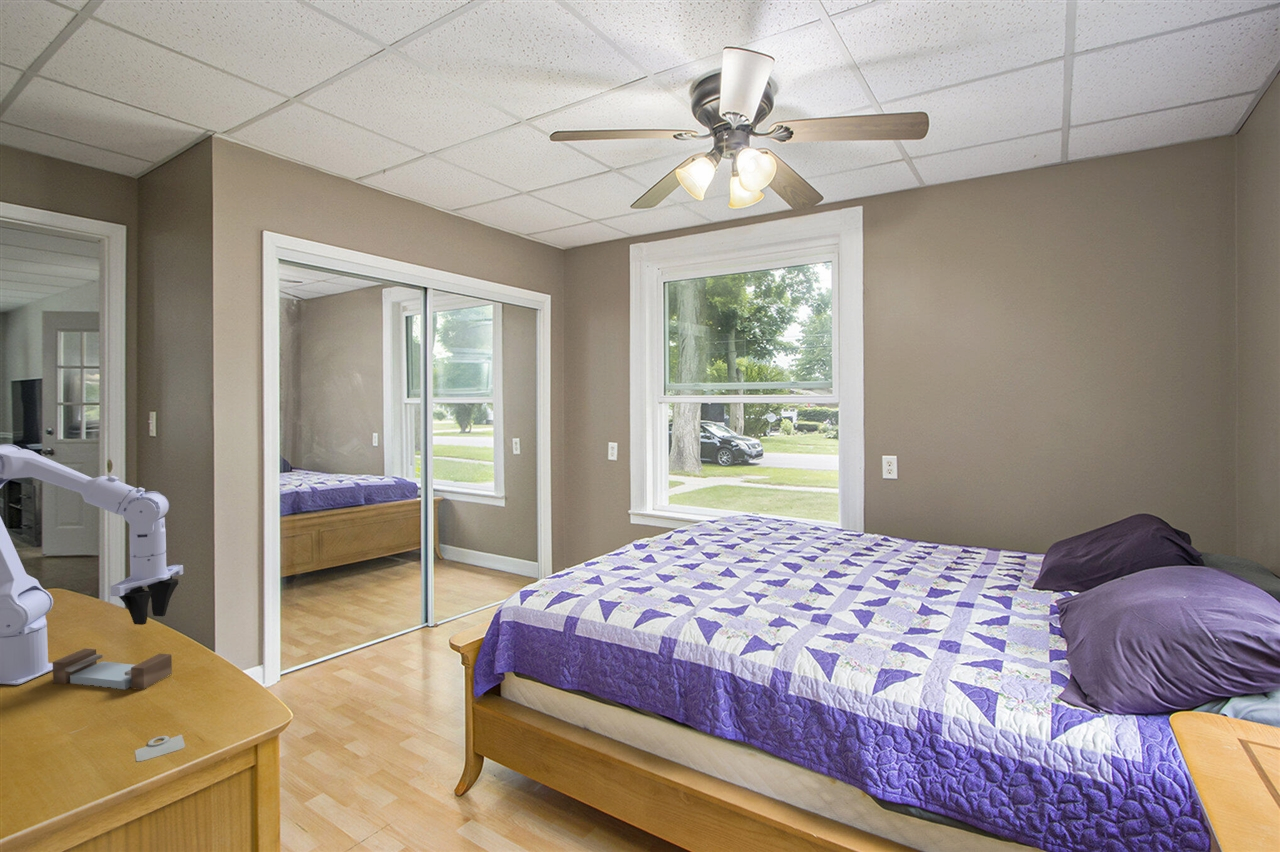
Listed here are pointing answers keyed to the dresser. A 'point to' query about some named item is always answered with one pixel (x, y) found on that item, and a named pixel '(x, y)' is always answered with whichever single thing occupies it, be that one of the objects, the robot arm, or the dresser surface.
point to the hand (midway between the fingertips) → (149, 619)
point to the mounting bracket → (159, 747)
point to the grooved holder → (139, 673)
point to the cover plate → (104, 675)
